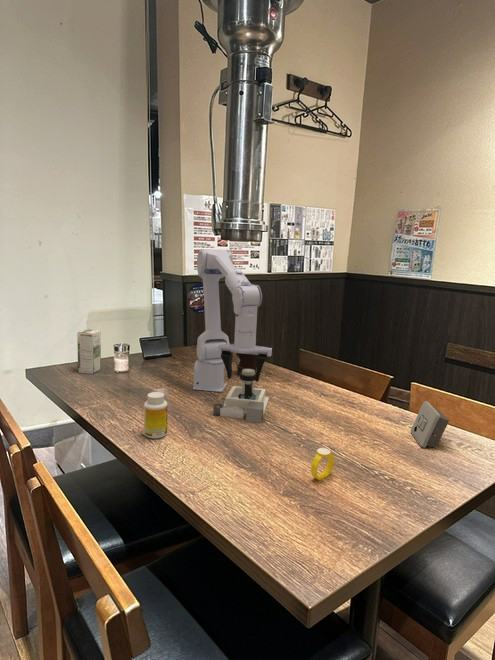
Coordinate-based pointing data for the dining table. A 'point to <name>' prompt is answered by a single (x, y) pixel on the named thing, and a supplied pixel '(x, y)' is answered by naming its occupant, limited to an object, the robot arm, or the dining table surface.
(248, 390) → the push button
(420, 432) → the electrical switch
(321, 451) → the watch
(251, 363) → the coffee mug
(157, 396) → the supplement bottle
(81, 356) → the syrup box
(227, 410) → the pin
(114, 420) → the dining table surface
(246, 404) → the dock
